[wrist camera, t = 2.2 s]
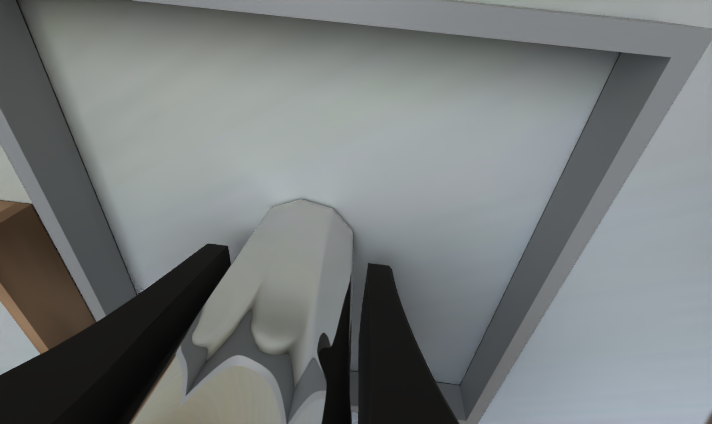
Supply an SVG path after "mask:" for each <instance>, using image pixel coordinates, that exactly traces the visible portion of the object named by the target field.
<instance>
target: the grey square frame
mask: <svg viewBox="0 0 712 424" xmlns="http://www.w3.org/2000/svg"><path fill="white" fill-rule="evenodd" d="M134 1H143V2H152V3H162V4H171V5H181V6H190V7H200V8H209V9H219V10H228V11H237V12H247V13H256V14H266V15H275V16H285V17H294V18H304V19H313V20H322V21H332V22H341V23H351V24H360V25H370V26H379V27H388V28H398V29H407V30H417V31H426V32H436V33H445V34H455V35H464V36H473V37H483V38H492V39H502V40H511V41H521V42H530V43H540V44H549V45H558V46H568V47H577V48H587V49H596V50H606V51H615V52H621V54H620V56H619V58H618V60H617V62H616V64H615V66H614V68H613V70H612V72H611V74H610V77H609V79H608V81H607V83H606V85H605V87H604V89H603V91H602V93H601V95H600V97H599V99H598V101H597V103H596V106H595V108H594V110H593V112H592V114H591V116H590V118H589V120H588V122H587V124H586V126H585V128H584V130H583V132H582V134H581V137H580V139H579V141H578V143H577V145H576V147H575V149H574V151H573V153H572V155H571V157H570V159H569V161H568V163H567V166H566V168H565V170H564V172H563V174H562V176H561V178H560V180H559V182H558V184H557V186H556V188H555V190H554V192H553V195H552V197H551V199H550V201H549V203H548V205H547V207H546V209H545V211H544V213H543V215H542V217H541V219H540V221H539V223H538V226H537V228H536V230H535V232H534V234H533V236H532V238H531V240H530V242H529V244H528V246H527V248H526V250H525V252H524V255H523V257H522V259H521V261H520V263H519V265H518V267H517V269H516V271H515V273H514V275H513V277H512V279H511V281H510V284H509V286H508V288H507V290H506V292H505V294H504V296H503V298H502V300H501V302H500V304H499V306H498V308H497V310H496V313H495V315H494V317H493V319H492V321H491V323H490V325H489V327H488V329H487V331H486V333H485V335H484V337H483V339H482V341H481V344H480V346H479V348H478V350H477V352H476V354H475V356H474V358H473V360H472V362H471V364H470V366H469V368H468V370H467V373H466V375H465V377H464V379H463V381H462V383H461V385H453V384H445V383H437V382H436V383H437V385H438V387H439V389H440V391H441V392H442V394H443V396H444V398H445V400H446V401H447V403H448V405H449V407H450V408H451V410H452V412H453V413H454V415H455V417H456V419H457V420H458V422H459V424H478V422H479V421H480V419H481V417H482V416H483V414H484V412H485V411H486V409H487V407H488V406H489V404H490V403H491V401H492V399H493V398H494V396H495V394H496V393H497V391H498V389H499V388H500V386H501V385H502V383H503V381H504V380H505V378H506V376H507V375H508V373H509V371H510V370H511V368H512V366H513V365H514V363H515V362H516V360H517V358H518V357H519V355H520V353H521V352H522V350H523V348H524V347H525V345H526V344H527V342H528V340H529V339H530V337H531V335H532V334H533V332H534V330H535V329H536V327H537V325H538V324H539V322H540V321H541V319H542V317H543V316H544V314H545V312H546V311H547V309H548V307H549V306H550V304H551V303H552V301H553V299H554V298H555V296H556V294H557V293H558V291H559V289H560V288H561V286H562V284H563V283H564V281H565V280H566V278H567V276H568V275H569V273H570V271H571V270H572V268H573V266H574V265H575V263H576V262H577V260H578V258H579V257H580V255H581V253H582V252H583V250H584V248H585V247H586V245H587V243H588V242H589V240H590V239H591V237H592V235H593V234H594V232H595V230H596V229H597V227H598V225H599V224H600V222H601V221H602V219H603V217H604V216H605V214H606V212H607V211H608V209H609V207H610V206H611V204H612V202H613V201H614V199H615V198H616V196H617V194H618V193H619V191H620V189H621V188H622V186H623V184H624V183H625V181H626V180H627V178H628V176H629V175H630V173H631V171H632V170H633V168H634V166H635V165H636V163H637V161H638V160H639V158H640V157H641V155H642V153H643V152H644V150H645V148H646V147H647V145H648V143H649V142H650V140H651V139H652V137H653V135H654V134H655V132H656V130H657V129H658V127H659V125H660V124H661V122H662V120H663V119H664V117H665V116H666V114H667V112H668V111H669V109H670V107H671V106H672V104H673V102H674V101H675V99H676V98H677V96H678V94H679V93H680V91H681V89H682V88H683V86H684V84H685V83H686V81H687V79H688V78H689V76H690V75H691V73H692V71H693V70H694V68H695V66H696V65H697V63H698V61H699V60H700V58H701V57H702V55H703V53H704V52H705V50H706V48H707V47H708V45H709V43H710V42H711V40H712V29H710V28H703V27H695V26H688V25H681V24H674V23H666V22H658V21H649V20H639V19H629V18H620V17H610V16H600V15H591V14H581V13H572V12H562V11H552V10H543V9H533V8H523V7H514V6H504V5H494V4H485V3H475V2H465V1H456V0H134ZM0 144H1V146H2V148H3V150H4V152H5V153H6V155H7V157H8V159H9V161H10V163H11V165H12V166H13V168H14V170H15V172H16V174H17V176H18V177H19V179H20V181H21V183H22V185H23V187H24V189H25V190H26V192H27V194H28V196H29V198H30V200H31V201H32V203H33V205H34V207H35V209H36V211H37V213H38V214H39V216H40V218H41V220H42V222H43V224H44V225H45V227H46V229H47V231H48V233H49V235H50V237H51V238H52V240H53V242H54V244H55V246H56V248H57V249H58V251H59V253H60V255H61V257H62V259H63V261H64V262H65V264H66V266H67V268H68V270H69V272H70V273H71V275H72V277H73V279H74V281H75V283H76V285H77V286H78V288H79V290H80V292H81V294H82V296H83V297H84V299H85V301H86V303H87V305H88V307H89V309H90V310H91V312H92V314H93V316H94V318H95V320H96V321H99V320H100V319H102V318H104V317H105V316H107V315H108V314H110V313H111V312H113V311H114V310H116V309H117V308H119V307H120V306H122V305H123V304H125V303H126V302H128V301H129V300H131V299H132V298H134V297H135V296H137V295H136V292H135V290H134V288H133V285H132V283H131V280H130V278H129V275H128V273H127V270H126V268H125V266H124V263H123V261H122V258H121V256H120V253H119V251H118V248H117V246H116V244H115V241H114V239H113V236H112V234H111V231H110V229H109V226H108V224H107V222H106V219H105V217H104V214H103V212H102V209H101V207H100V204H99V202H98V200H97V197H96V195H95V192H94V190H93V187H92V185H91V183H90V180H89V178H88V175H87V173H86V170H85V168H84V165H83V163H82V161H81V158H80V156H79V153H78V151H77V148H76V146H75V143H74V141H73V139H72V136H71V134H70V131H69V129H68V126H67V124H66V121H65V119H64V117H63V114H62V112H61V109H60V107H59V104H58V102H57V99H56V97H55V95H54V92H53V90H52V87H51V85H50V82H49V80H48V78H47V75H46V73H45V70H44V68H43V65H42V63H41V60H40V58H39V56H38V53H37V51H36V48H35V46H34V43H33V41H32V38H31V36H30V34H29V31H28V29H27V26H26V24H25V21H24V19H23V16H22V14H21V12H20V9H19V7H18V4H17V2H16V0H0ZM350 403H351V412H358V372H353V371H350Z"/></svg>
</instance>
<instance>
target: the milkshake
mask: <svg viewBox="0 0 712 424" xmlns="http://www.w3.org/2000/svg"><path fill="white" fill-rule="evenodd" d="M352 293H353V230H352V229H351V228H350V227H349V226H348V225H347V224H346V223H345V222H344V220H343V219H342V218H341V217H340V216H339V215H338V214H337V213H336V211H335V210H334V209H333V208H330V207H326V206H323V205H320V204H316V203H313V202H310V201H306V200H303V199H299V200H295V201H292V202H288V203H284V204H280V205H276V206H272V207H271V208H270V209H269V211H268V212H267V214H266V215H265V217H264V218H263V219H262V221H261V222H260V224H259V225H258V227H257V228H256V230H255V231H254V233H253V234H252V235H251V237H250V238H249V240H248V241H247V243H246V244H245V246H244V247H243V248H242V250H241V251H240V253H239V254H238V256H237V257H236V259H235V260H234V262H233V263H232V264H231V266H230V267H229V269H228V270H227V272H226V273H225V275H224V276H223V277H222V279H221V280H220V282H219V283H218V285H217V286H216V288H215V289H214V290H213V292H212V293H211V295H210V296H209V298H208V299H207V300H206V302H205V303H204V305H203V306H202V308H201V309H200V310H199V312H198V313H197V315H196V316H195V317H194V319H193V320H192V322H191V323H190V324H189V326H188V327H187V328H186V330H185V331H184V332H183V334H182V335H181V336H180V338H179V339H178V340H177V341H176V343H175V344H174V345H173V347H172V348H171V349H170V350H169V352H168V353H167V354H166V355H165V356H164V358H163V359H162V360H161V361H160V363H159V364H158V365H157V366H156V368H155V369H154V370H153V371H152V373H151V374H150V375H149V377H148V378H147V379H146V380H145V382H144V383H143V384H142V386H141V387H140V388H139V390H138V391H137V392H136V394H135V395H134V396H133V398H132V399H131V400H130V402H129V403H128V404H127V406H126V407H125V408H124V410H123V411H122V412H121V414H120V415H119V416H118V418H117V419H116V420H115V422H114V423H113V424H352V417H351V403H350V364H351V327H352Z"/></svg>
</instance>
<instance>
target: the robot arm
mask: <svg viewBox="0 0 712 424" xmlns="http://www.w3.org/2000/svg"><path fill="white" fill-rule="evenodd" d="M230 266H231V262H230V256H229V250H228V246H224V245H216V244H207V245H205V246H204V247H202V248H201V249H200V250H198V251H197V252H196V253H194V254H193V255H192V256H190V257H189V258H188V259H186V260H185V261H184V262H182V263H181V264H180V265H178V266H177V267H176V268H174V269H173V270H171V271H170V272H169V273H167V274H166V275H165V276H163V277H162V278H161V279H159V280H158V281H156V282H155V283H154V284H152V285H151V286H149V287H148V288H147V289H145V290H144V291H143V292H141V293H140V294H138V295H137V296H135V297H134V298H132V299H131V300H129V301H128V302H126V303H125V304H123V305H122V306H120V307H119V308H117V309H116V310H114V311H113V312H111V313H110V314H108V315H107V316H105V317H104V318H102V319H100V320H99V321H97V322H96V323H94V324H92V325H91V326H89V327H88V328H86V329H84V330H83V331H81V332H79V333H77V334H76V335H74V336H72V337H71V338H69V339H67V340H65V341H64V342H62V343H60V344H58V345H57V346H55V347H53V348H51V349H49V350H48V351H46V352H44V353H42V354H40V355H38V356H36V357H34V358H32V359H31V360H29V361H27V362H25V363H23V364H21V365H19V366H17V367H15V368H13V369H11V370H9V371H7V372H5V373H4V374H2V375H0V424H113V423H114V422H115V420H116V419H117V418H118V416H119V415H120V414H121V412H122V411H123V410H124V408H125V407H126V406H127V404H128V403H129V402H130V400H131V399H132V398H133V396H134V395H135V394H136V392H137V391H138V390H139V388H140V387H141V386H142V384H143V383H144V382H145V380H146V379H147V378H148V377H149V375H150V374H151V373H152V371H153V370H154V369H155V368H156V366H157V365H158V364H159V363H160V361H161V360H162V359H163V358H164V356H165V355H166V354H167V353H168V352H169V350H170V349H171V348H172V347H173V345H174V344H175V343H176V341H177V340H178V339H179V338H180V336H181V335H182V334H183V332H184V331H185V330H186V328H187V327H188V326H189V324H190V323H191V322H192V320H193V319H194V317H195V316H196V315H197V313H198V312H199V310H200V309H201V308H202V306H203V305H204V303H205V302H206V300H207V299H208V298H209V296H210V295H211V293H212V292H213V290H214V289H215V288H216V286H217V285H218V283H219V282H220V280H221V279H222V277H223V276H224V275H225V273H226V272H227V270H228V269H229V267H230ZM358 424H459V422H458V420H457V419H456V417H455V415H454V413H453V412H452V410H451V408H450V407H449V405H448V403H447V401H446V400H445V398H444V396H443V394H442V392H441V391H440V389H439V387H438V385H437V383H436V381H435V380H434V378H433V376H432V374H431V372H430V370H429V368H428V366H427V364H426V362H425V360H424V357H423V355H422V353H421V351H420V349H419V347H418V344H417V342H416V340H415V338H414V335H413V333H412V330H411V328H410V325H409V323H408V320H407V318H406V315H405V313H404V310H403V307H402V304H401V301H400V298H399V295H398V292H397V289H396V285H395V282H394V277H393V273H392V269H391V268H390V266H387V265H379V264H371V263H368V269H367V276H366V283H365V290H364V297H363V304H362V312H361V322H360V332H359V356H358Z"/></svg>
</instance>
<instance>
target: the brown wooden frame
mask: <svg viewBox="0 0 712 424" xmlns="http://www.w3.org/2000/svg"><path fill="white" fill-rule="evenodd" d="M0 301H1V302H2V304H3V305H4V306H5V308H6V309H7V310H8V312H9V313H10V314H11V316H12V317H13V318H14V320H15V321H16V322H17V324H18V325H19V326H20V328H21V329H22V330H23V332H24V333H25V334H26V336H27V337H28V338H29V340H30V341H31V342H32V344H33V345H34V346H35V348H36V349H37V350H38V352H39V353H40V354H42V353H44V352H46V351H48V350H49V349H51V348H53V347H55V346H57V345H58V344H60V343H62V342H64V341H65V340H67V339H69V338H71V337H72V336H74V335H76V334H77V333H79V332H81V331H83V330H84V329H86V328H88V327H89V326H91V325H92V324H94V323H96V322H95V320H94V319H93V317H92V315H91V313H90V311H89V309H88V308H87V306H86V304H85V302H84V300H83V298H82V297H81V295H80V293H79V291H78V289H77V287H76V286H75V284H74V282H73V280H72V278H71V276H70V275H69V273H68V271H67V269H66V267H65V265H64V264H63V262H62V260H61V258H60V256H59V254H58V253H57V251H56V249H55V247H54V245H53V243H52V242H51V240H50V238H49V236H48V234H47V232H46V231H45V229H44V227H43V225H42V223H41V221H40V220H39V218H38V216H37V214H36V212H35V210H34V209H33V207H32V205H31V204H26V203H18V202H9V201H1V200H0Z"/></svg>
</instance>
